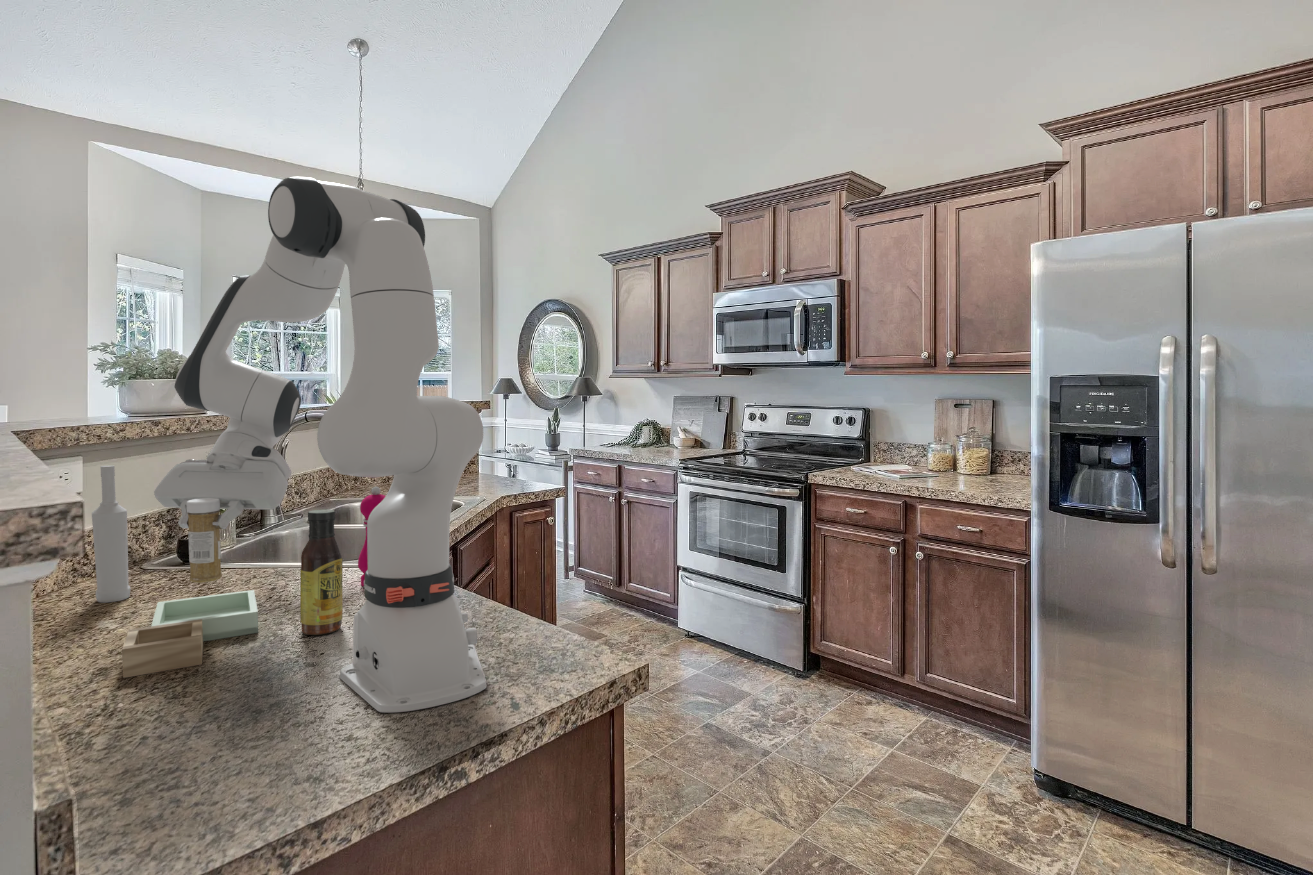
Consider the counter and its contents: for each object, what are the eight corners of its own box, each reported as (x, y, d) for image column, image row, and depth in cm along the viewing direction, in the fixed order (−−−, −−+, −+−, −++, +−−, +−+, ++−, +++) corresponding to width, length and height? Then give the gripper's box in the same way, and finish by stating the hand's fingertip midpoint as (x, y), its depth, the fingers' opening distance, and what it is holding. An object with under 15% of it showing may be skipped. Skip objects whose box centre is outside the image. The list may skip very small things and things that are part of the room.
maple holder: (201, 664, 98) (201, 637, 98) (123, 677, 93) (121, 649, 93) (203, 644, 106) (202, 619, 106) (130, 655, 101) (129, 629, 101)
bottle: (137, 594, 131) (132, 464, 129) (117, 602, 125) (111, 467, 124) (109, 594, 130) (103, 464, 129) (88, 602, 125) (81, 467, 123)
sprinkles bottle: (227, 576, 115) (226, 497, 114) (210, 584, 111) (208, 501, 110) (200, 575, 115) (198, 496, 114) (182, 583, 111) (179, 501, 110)
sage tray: (258, 632, 111) (257, 611, 111) (151, 649, 104) (151, 626, 103) (254, 608, 123) (253, 589, 123) (158, 622, 115) (157, 602, 115)
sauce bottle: (325, 638, 109) (323, 515, 108) (291, 635, 110) (288, 513, 109) (352, 625, 115) (349, 508, 114) (319, 622, 117) (316, 507, 115)
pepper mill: (402, 578, 143) (400, 484, 142) (387, 588, 136) (385, 489, 135) (368, 578, 144) (366, 483, 142) (351, 588, 136) (349, 488, 135)
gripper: (170, 448, 118) (127, 514, 109) (286, 450, 118) (253, 517, 109) (189, 470, 123) (149, 535, 114) (301, 472, 123) (270, 538, 114)
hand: (201, 526), depth 112 cm, fingers closed on sprinkles bottle, 4 cm apart
